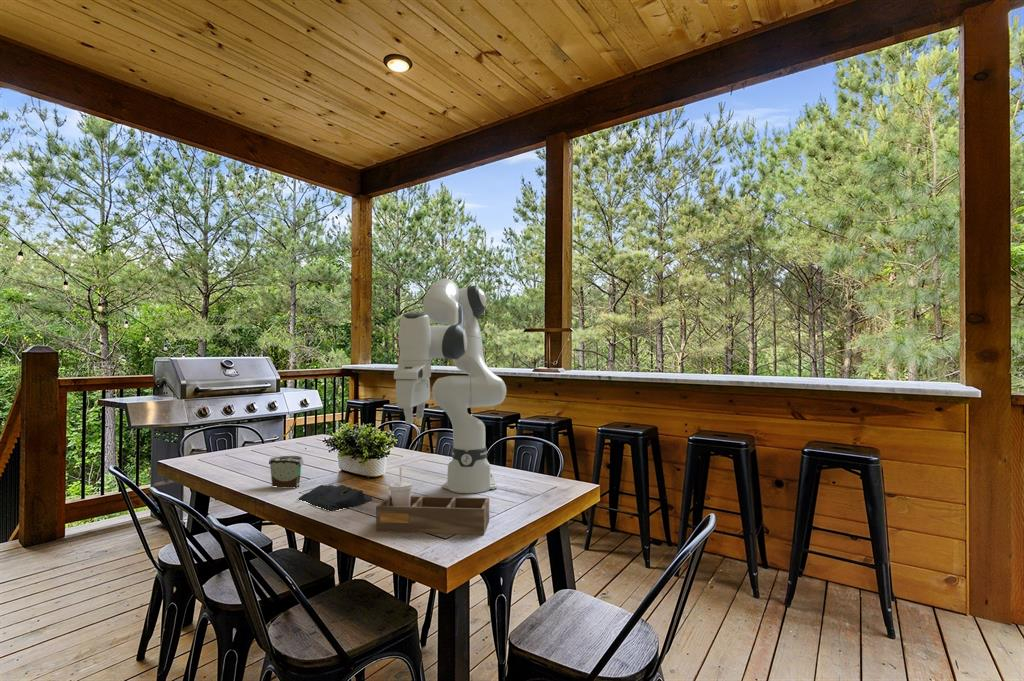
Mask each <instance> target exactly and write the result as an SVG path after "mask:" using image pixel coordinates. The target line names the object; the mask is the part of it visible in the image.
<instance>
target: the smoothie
mask: <svg viewBox="0 0 1024 681" xmlns="http://www.w3.org/2000/svg"><path fill="white" fill-rule="evenodd" d="M402 469H403V468H402V467H399V481H395V482H392V483H389V484H388V485H389V486H388V490H390V496H391V497H392V503H393V506H410V501H411V496H412V488H413V482H412V481H406V480H405V481H403V474H402V473H403V472H402V471H403V470H402Z"/></svg>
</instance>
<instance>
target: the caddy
mask: <svg viewBox="0 0 1024 681" xmlns="http://www.w3.org/2000/svg"><path fill="white" fill-rule="evenodd" d="M489 523H490V498H489V497H462V496H461V497H459V496H425V495H424V496H423V495H421V496H419V495H411V501H410V506H393V503H392V497H391V495H388V496H387V497H385V499H383V500H382V501H381V502H379V504H377V505H376V507H375V532H380V531H393V532H392V533H411V532H415V534H417V533H419V534H420V533H421V534H445V535H447V534H451V535H477V536H480V535H481V536H484V535H485V534H486V531H487V528H488V525H489Z"/></svg>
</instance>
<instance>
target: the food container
mask: <svg viewBox="0 0 1024 681" xmlns="http://www.w3.org/2000/svg"><path fill="white" fill-rule="evenodd" d="M268 465H269V467H270V477H271V487H272V486H277V487H295V488H297V487H298V488H299V487H300V483H301V482H300V481H301V474H302V473H301V472H302V466H303V465H304V460H303V457H302V456H299V455H283V456H281V455H280V456H274V457H270V458H269V460H268ZM298 488H297V489H298Z"/></svg>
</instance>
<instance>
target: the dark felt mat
mask: <svg viewBox="0 0 1024 681" xmlns="http://www.w3.org/2000/svg"><path fill="white" fill-rule="evenodd" d="M363 492H364V491H363V490H359V489H356V488H352V487H350V486H346V485H343V484H340V485H339V486H335V485H331V484H330V485H327V484H325V485H324V484H321V485H319V486H316V487H314V488H313V489H311V490H310V491H309V492H306V493H304V494H302V495H301V496H299V497H298V498H297V500H298V499H299V500H302V501H306V502H308V503H310V504H312V505H315V506H318V507H321V508H324V509H326V510H329V511H332V512H334V511H333V510H339V509H343V508H347V509H350V508H349V507H353V508H355V507H354V506H356V507H359V506H361V505H362V504H363V505H364V504H367V503H368V502H371V501H373V498H372V496H370V495H367V494H366V493H363ZM299 500H298V501H299ZM370 500H371V501H370ZM366 502H367V503H366ZM312 505H311V506H312ZM358 505H359V506H358ZM315 506H314V507H315ZM326 510H325V511H326ZM329 511H328V512H329Z"/></svg>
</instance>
